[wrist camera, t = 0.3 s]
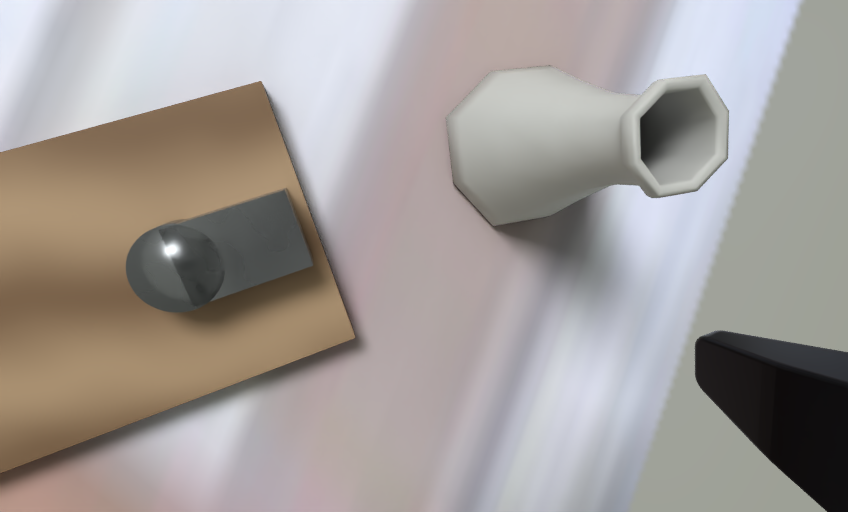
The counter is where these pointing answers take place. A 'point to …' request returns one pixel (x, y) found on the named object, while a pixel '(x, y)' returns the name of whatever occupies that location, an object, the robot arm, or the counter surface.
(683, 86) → the flask
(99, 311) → the tan board
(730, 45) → the counter surface
